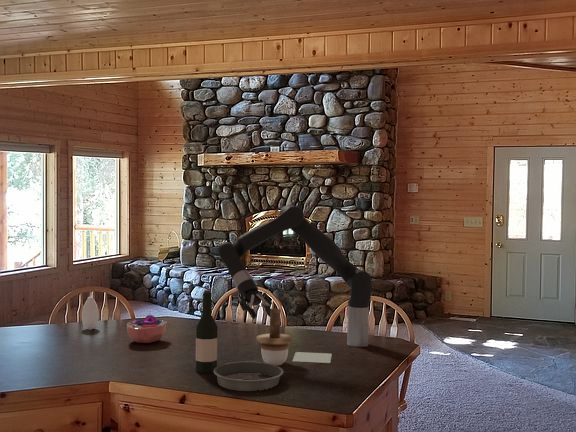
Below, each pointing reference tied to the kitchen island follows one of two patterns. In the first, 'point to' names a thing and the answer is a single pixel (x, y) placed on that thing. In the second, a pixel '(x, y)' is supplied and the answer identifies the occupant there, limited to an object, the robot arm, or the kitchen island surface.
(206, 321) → the wine bottle
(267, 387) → the cake pan
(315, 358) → the mat
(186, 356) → the kitchen island surface
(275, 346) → the lidded jar
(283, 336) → the lid
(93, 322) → the sauce bottle
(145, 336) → the cell model
